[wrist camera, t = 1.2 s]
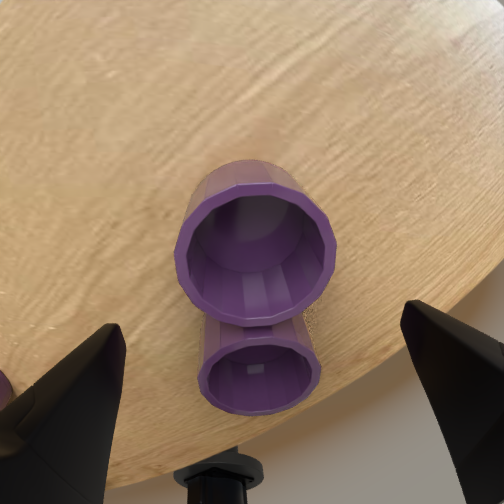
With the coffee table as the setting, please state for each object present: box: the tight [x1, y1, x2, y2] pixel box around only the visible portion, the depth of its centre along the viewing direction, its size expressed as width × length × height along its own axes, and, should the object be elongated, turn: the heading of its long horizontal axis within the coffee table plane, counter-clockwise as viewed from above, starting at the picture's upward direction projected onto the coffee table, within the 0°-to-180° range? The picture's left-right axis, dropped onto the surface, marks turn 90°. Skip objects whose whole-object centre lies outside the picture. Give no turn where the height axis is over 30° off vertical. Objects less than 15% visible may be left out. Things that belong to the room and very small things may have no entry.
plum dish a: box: [197, 312, 321, 416], centre depth 18 cm, size 6×6×5 cm
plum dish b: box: [174, 160, 337, 327], centre depth 15 cm, size 6×6×5 cm
